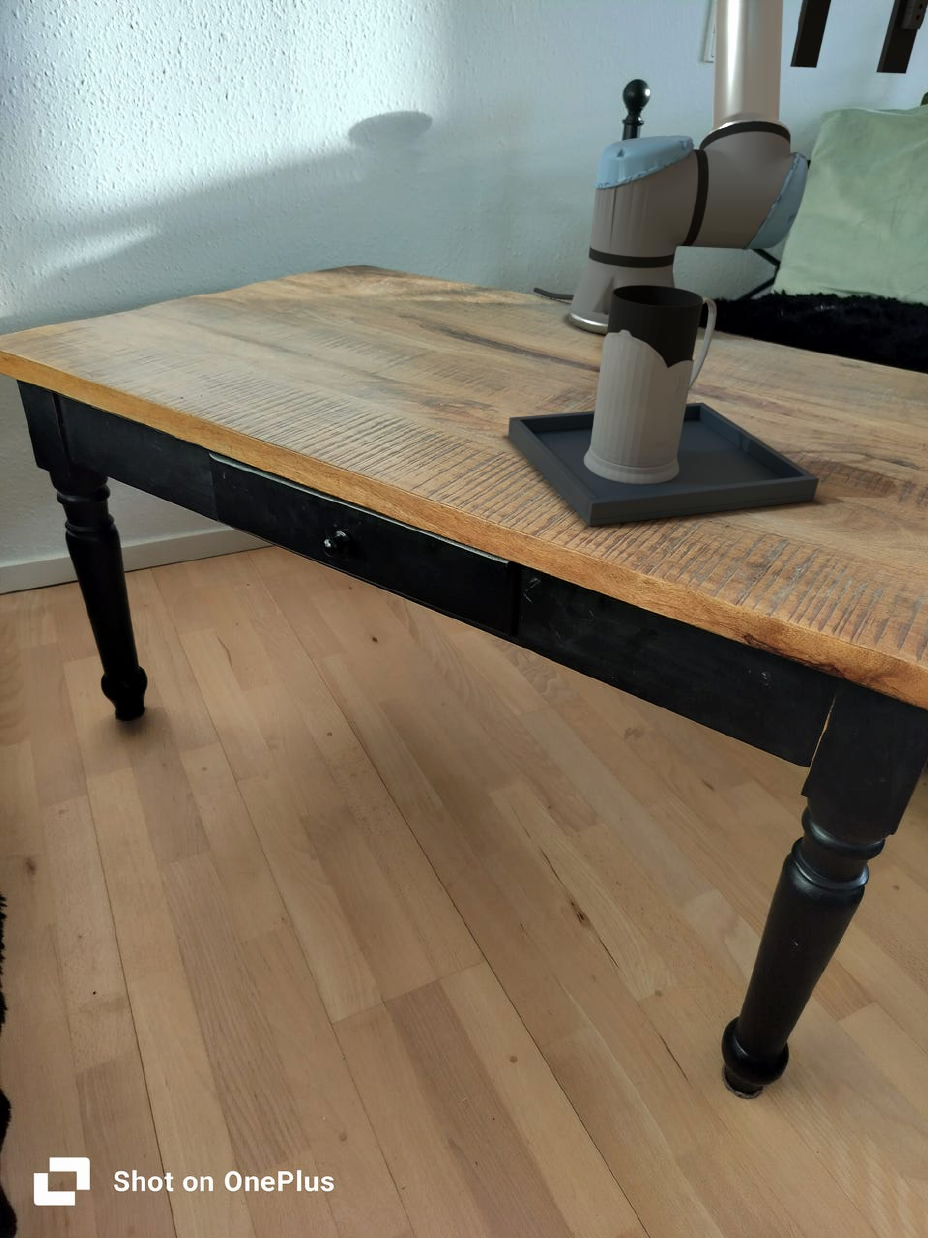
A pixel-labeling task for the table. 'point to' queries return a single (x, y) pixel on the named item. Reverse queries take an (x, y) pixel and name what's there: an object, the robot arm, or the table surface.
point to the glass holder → (646, 382)
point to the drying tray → (706, 482)
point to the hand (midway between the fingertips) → (844, 70)
